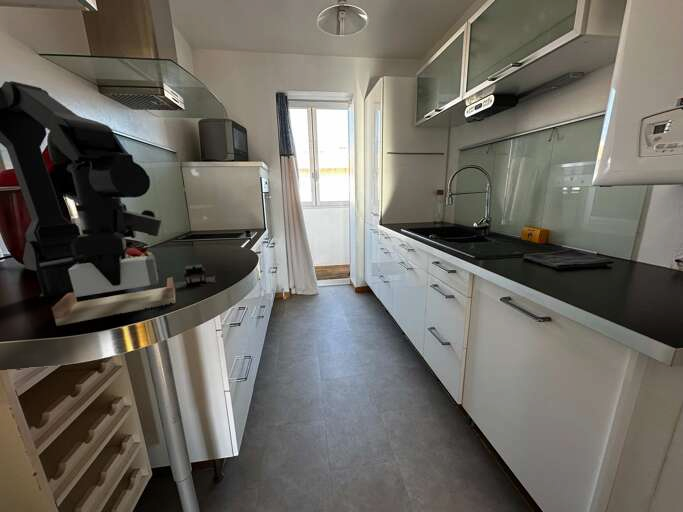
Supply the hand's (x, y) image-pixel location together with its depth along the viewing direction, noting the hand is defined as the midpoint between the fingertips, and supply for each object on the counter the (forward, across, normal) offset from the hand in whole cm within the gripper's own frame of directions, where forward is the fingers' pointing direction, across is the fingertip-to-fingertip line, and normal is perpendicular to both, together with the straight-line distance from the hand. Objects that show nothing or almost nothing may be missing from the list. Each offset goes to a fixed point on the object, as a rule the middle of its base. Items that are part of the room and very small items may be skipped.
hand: (118, 282), depth 52 cm
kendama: (+5, +29, 0) cm, 30 cm away
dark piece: (+6, +8, -13) cm, 16 cm away
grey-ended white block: (+1, 0, 0) cm, 1 cm away
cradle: (+5, 0, 0) cm, 5 cm away
